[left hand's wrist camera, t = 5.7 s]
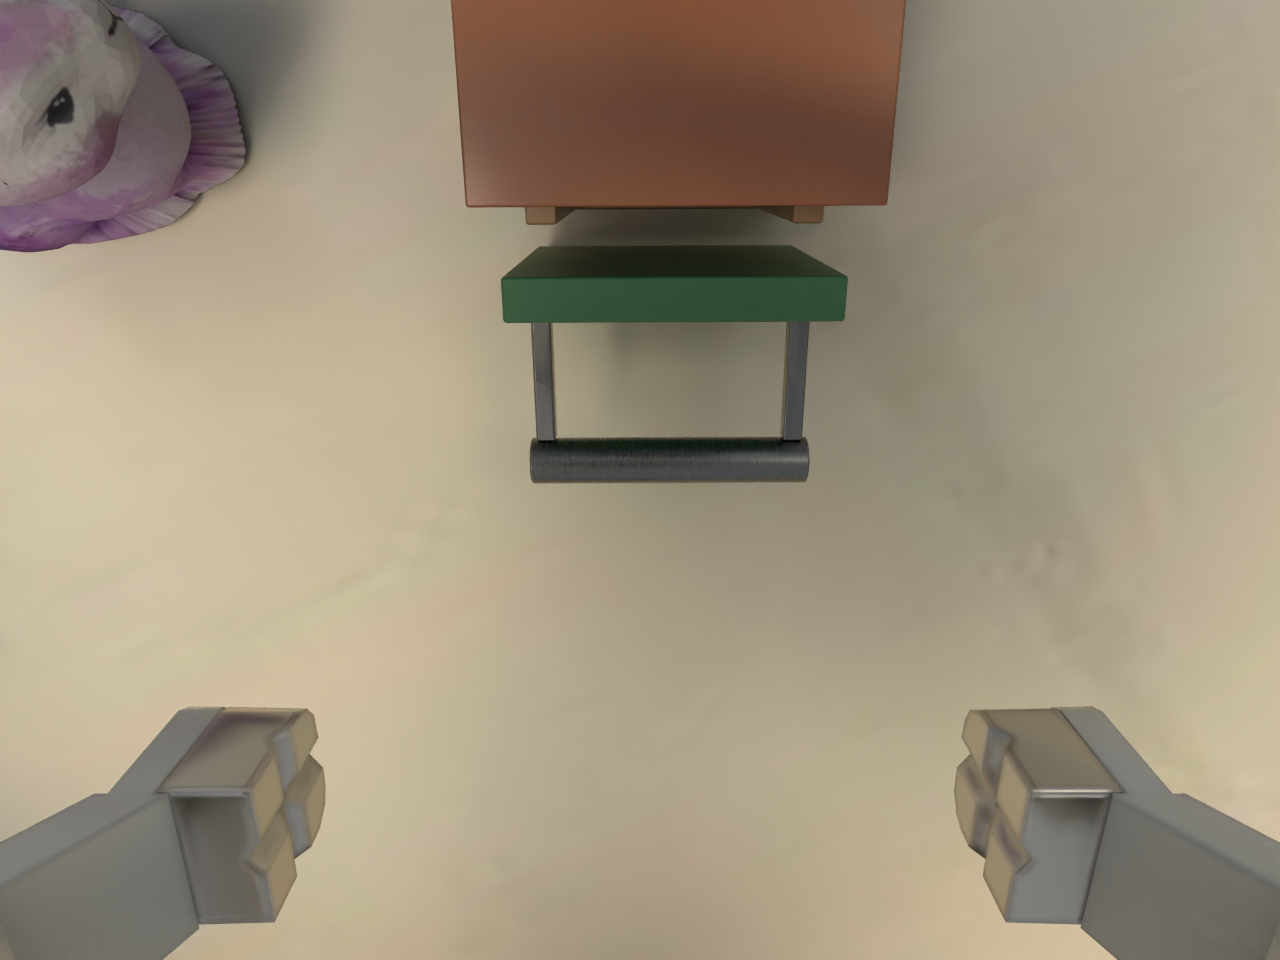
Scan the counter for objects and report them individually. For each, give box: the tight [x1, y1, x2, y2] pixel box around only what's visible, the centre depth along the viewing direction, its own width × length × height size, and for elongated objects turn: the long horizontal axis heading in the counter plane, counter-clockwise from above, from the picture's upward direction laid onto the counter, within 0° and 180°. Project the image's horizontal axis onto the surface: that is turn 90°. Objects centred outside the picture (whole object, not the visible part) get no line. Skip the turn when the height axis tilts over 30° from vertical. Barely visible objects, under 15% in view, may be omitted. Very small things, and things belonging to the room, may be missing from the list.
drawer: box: [501, 206, 848, 483], centre depth 26 cm, size 18×9×9 cm, turn 0°
